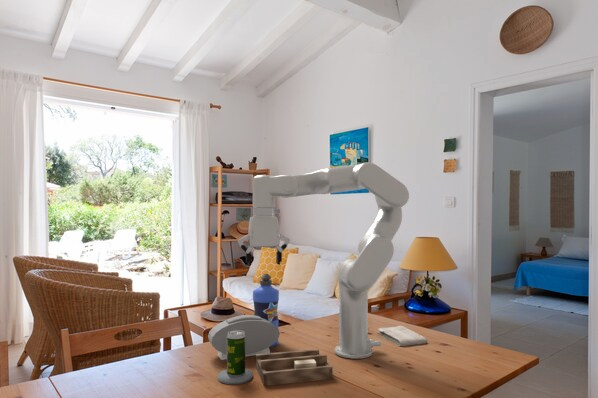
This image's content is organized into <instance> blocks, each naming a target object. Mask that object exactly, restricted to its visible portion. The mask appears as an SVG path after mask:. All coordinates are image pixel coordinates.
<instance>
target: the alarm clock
mask: <svg viewBox="0 0 598 398" xmlns="http://www.w3.org/2000/svg"><path fill="white" fill-rule="evenodd" d="M235 330H240V331H244V332H245V358H246V357H252V356H256V354H267V353H271V350H270V348H271V347H270V346H271V345H273V344H274V343H275V342H276V341H277V340H278V341H279V338H280V333H281V332H280V330H279V327H278V328H277V327H276V326H275V325H274V324H272V323H271V322H270V321H268V320H266V319H263V318H261V317H259V316H255V315H254V314H240V315H236V316H233V317H230V318H227V319H225V320H223V321H221V322H218V323H217V324H215V326H213V327H212V328H211V329H210V330H209V332H208V335H207V339H208V341H209V343H210V344H211V346H212V348H214V349H215V350H216V351H217V352H218V353H217V356H218V357H219V359H220V361H224V360H227V335H228V332H230V331H235ZM269 347H270V348H269Z"/></svg>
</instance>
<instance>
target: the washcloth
mask: <svg viewBox="0 0 598 398" xmlns="http://www.w3.org/2000/svg"><path fill="white" fill-rule="evenodd" d="M376 333H377V334H378V335H379V336H381V337H382V338H384V339H386V340H387V341H389V342H392V343H393V344H394V345H396V346H399V347H407V346H408V347H409V346H413V345H423V344H427V343H428V339H427V338H426V337H425V336H423V335H421V334H419V333H417V332H416V331H413V330H412V329H409V328H407V327H406V326H403V325H397V326H392V327H390V326H384V327H379V328H378V329H377V331H376Z"/></svg>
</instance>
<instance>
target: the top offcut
mask: <svg viewBox="0 0 598 398" xmlns="http://www.w3.org/2000/svg"><path fill="white" fill-rule="evenodd" d="M308 367H316V362H315V360H314V359H310V360H295V361H294V369H298V368H308Z"/></svg>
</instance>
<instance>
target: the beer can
mask: <svg viewBox="0 0 598 398" xmlns="http://www.w3.org/2000/svg"><path fill="white" fill-rule="evenodd" d="M245 369H246V357H245V332H244V331H240V330H235V331H230V332H228V335H227V359H226V370H227V374H228V376H229V377H234V378H236V377H241V376H243V375H244V374H245Z"/></svg>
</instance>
